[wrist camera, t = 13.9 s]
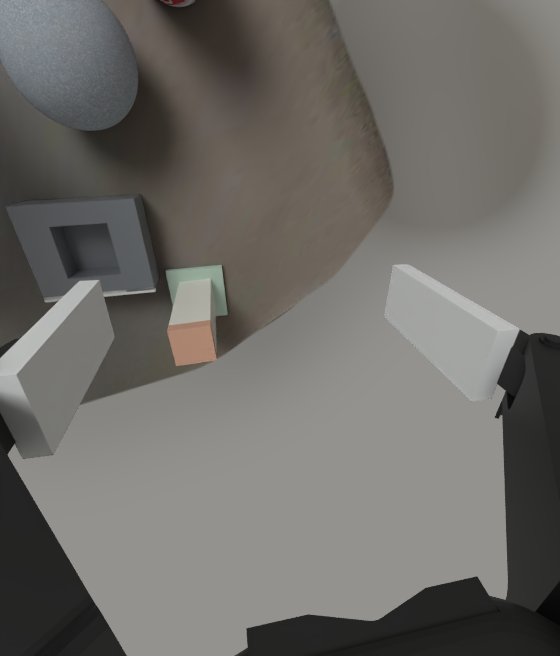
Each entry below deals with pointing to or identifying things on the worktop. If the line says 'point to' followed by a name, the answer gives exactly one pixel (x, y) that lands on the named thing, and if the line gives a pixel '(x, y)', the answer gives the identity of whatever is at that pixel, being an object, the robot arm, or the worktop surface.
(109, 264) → the frame
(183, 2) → the soda can
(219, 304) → the pad
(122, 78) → the decorative stone
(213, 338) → the plug
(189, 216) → the worktop surface
